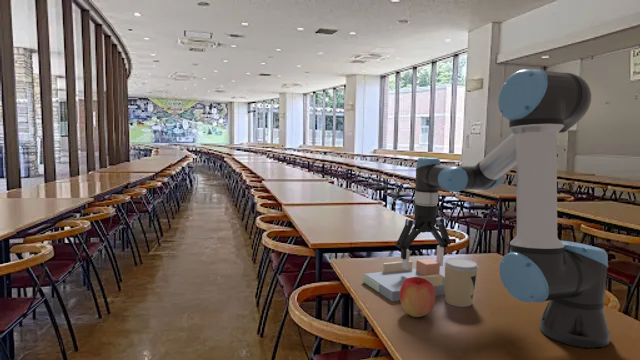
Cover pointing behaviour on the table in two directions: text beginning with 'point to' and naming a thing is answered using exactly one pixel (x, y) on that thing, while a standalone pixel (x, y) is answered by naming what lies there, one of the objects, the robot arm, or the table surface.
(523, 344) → the table surface
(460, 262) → the coffee cup
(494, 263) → the table surface
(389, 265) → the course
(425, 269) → the block
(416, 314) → the apple
